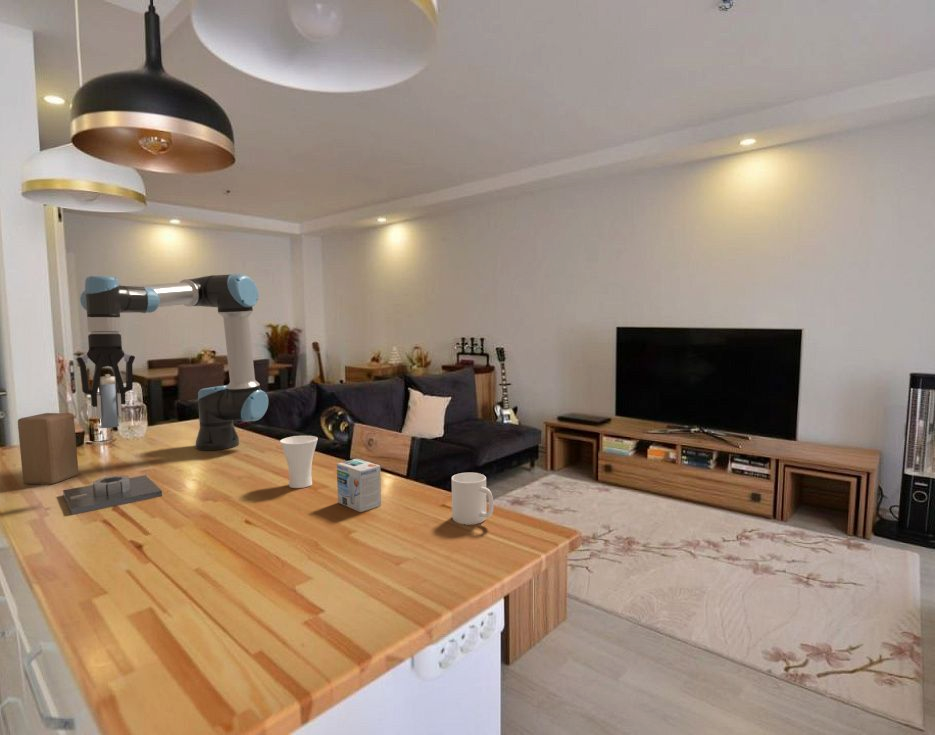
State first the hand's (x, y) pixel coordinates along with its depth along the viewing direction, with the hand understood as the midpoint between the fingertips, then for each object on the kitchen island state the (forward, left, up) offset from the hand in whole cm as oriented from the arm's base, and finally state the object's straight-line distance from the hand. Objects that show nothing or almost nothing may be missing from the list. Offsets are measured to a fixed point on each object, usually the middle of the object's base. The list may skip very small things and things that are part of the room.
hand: (109, 417), depth 145 cm
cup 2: (-59, +85, -22) cm, 106 cm away
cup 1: (-41, +30, -22) cm, 56 cm away
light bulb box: (-45, +56, -22) cm, 75 cm away
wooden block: (+12, -29, -22) cm, 38 cm away
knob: (0, 0, -3) cm, 3 cm away
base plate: (+1, +2, -22) cm, 22 cm away
